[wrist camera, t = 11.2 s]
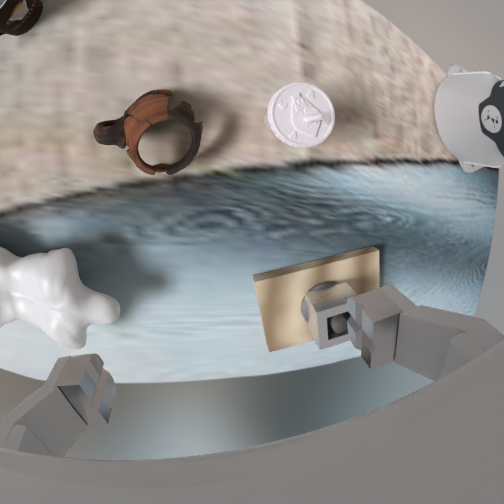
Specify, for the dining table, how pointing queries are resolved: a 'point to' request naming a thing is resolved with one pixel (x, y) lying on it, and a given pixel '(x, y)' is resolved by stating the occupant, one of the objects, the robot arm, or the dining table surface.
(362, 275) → the post block
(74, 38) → the dining table surface
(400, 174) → the dining table surface
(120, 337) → the dining table surface
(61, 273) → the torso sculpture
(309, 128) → the smoothie
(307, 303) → the grey hollow square block
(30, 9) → the coffee mug
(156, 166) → the brown hollow curved piece
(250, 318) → the dining table surface
